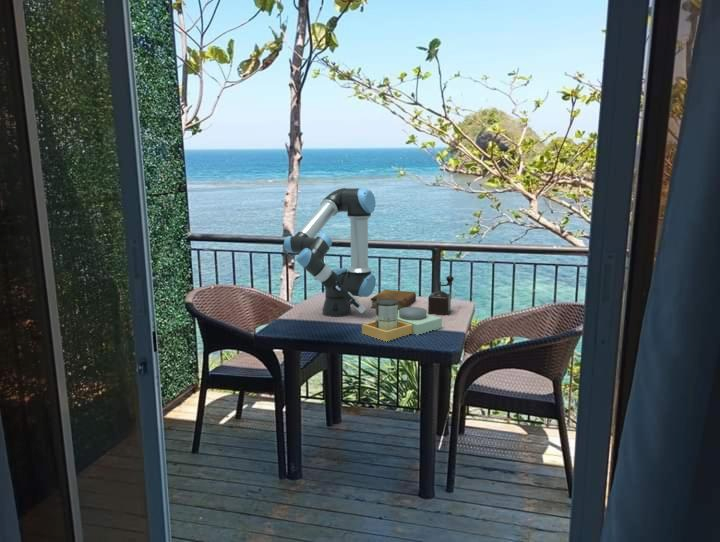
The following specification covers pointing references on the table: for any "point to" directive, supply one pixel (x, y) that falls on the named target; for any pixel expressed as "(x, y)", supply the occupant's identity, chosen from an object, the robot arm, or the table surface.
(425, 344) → the table surface
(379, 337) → the shallow square tray
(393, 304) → the coffee can
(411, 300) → the diary
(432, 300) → the pepper mill
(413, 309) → the block with grey dome
